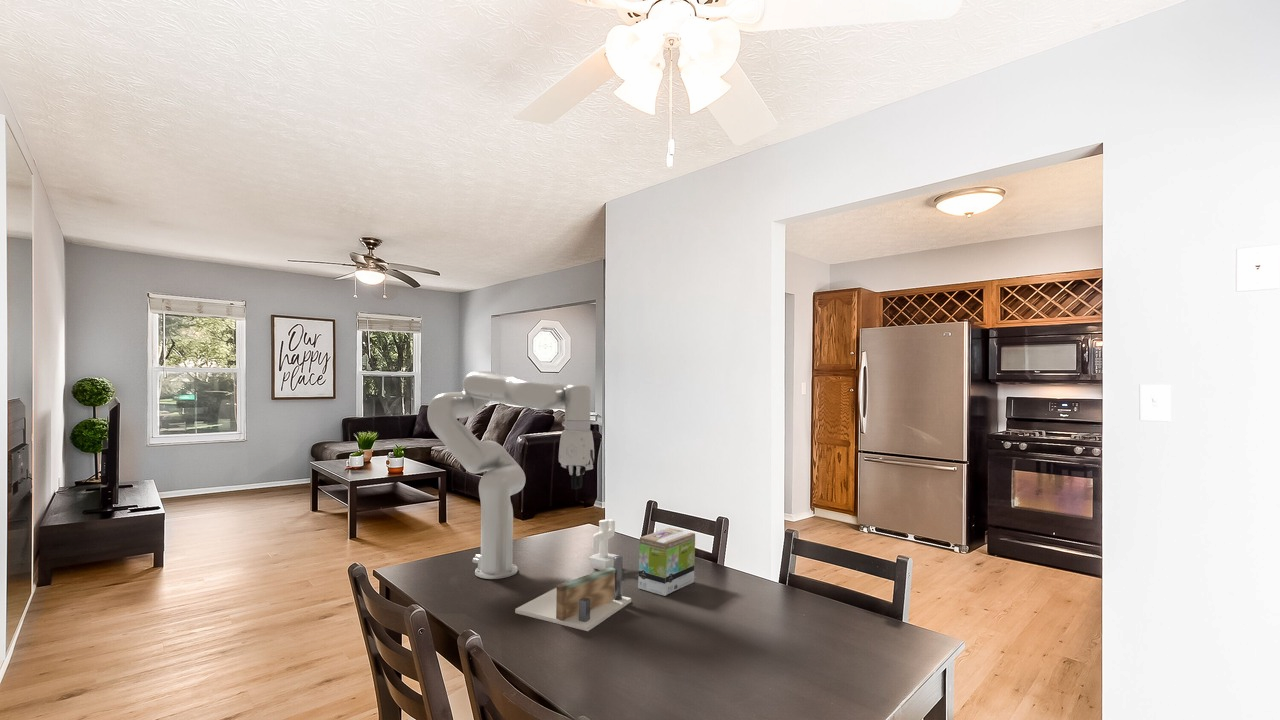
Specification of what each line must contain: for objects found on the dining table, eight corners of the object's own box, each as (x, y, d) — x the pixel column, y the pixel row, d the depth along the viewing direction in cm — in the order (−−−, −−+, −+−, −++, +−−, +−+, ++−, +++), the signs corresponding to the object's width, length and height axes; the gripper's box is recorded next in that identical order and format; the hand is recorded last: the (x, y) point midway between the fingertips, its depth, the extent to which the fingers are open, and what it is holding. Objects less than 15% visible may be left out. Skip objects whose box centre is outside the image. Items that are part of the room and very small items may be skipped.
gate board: (515, 612, 151) (515, 608, 151) (563, 587, 169) (563, 583, 169) (587, 631, 140) (587, 627, 140) (630, 601, 159) (631, 598, 159)
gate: (609, 597, 158) (610, 567, 158) (615, 599, 156) (615, 569, 157) (556, 618, 144) (556, 585, 144) (561, 620, 142) (562, 587, 143)
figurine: (584, 569, 185) (585, 521, 185) (603, 562, 192) (604, 515, 193) (603, 574, 180) (603, 524, 181) (621, 566, 188) (622, 518, 189)
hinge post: (577, 624, 144) (578, 574, 144) (615, 599, 160) (616, 555, 160) (586, 626, 143) (586, 576, 143) (623, 601, 159) (624, 556, 159)
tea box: (666, 597, 162) (666, 543, 163) (637, 589, 169) (637, 536, 169) (695, 582, 174) (695, 531, 175) (667, 575, 180) (667, 526, 181)
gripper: (549, 425, 176) (548, 488, 175) (591, 428, 169) (591, 493, 168) (564, 424, 182) (563, 484, 182) (605, 426, 175) (604, 488, 175)
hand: (576, 488), depth 175 cm, fingers closed
